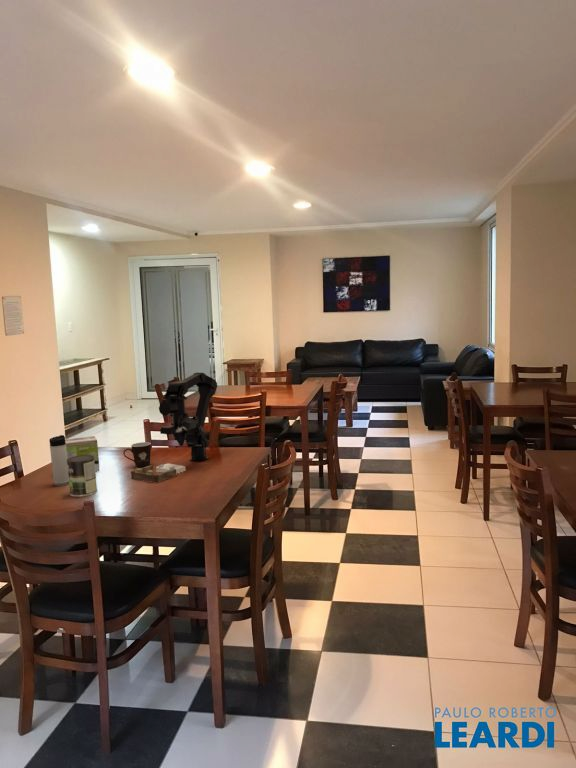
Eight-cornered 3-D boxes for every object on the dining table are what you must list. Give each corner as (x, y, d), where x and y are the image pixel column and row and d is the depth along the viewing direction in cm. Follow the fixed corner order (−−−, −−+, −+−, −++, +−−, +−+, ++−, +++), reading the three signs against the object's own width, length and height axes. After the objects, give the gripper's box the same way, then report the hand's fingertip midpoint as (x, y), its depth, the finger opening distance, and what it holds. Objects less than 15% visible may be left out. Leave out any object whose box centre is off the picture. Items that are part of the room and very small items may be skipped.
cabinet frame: (151, 471, 268) (150, 462, 268) (176, 476, 259) (175, 465, 259) (131, 478, 259) (130, 468, 259) (156, 483, 250) (155, 472, 250)
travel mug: (73, 481, 259) (68, 435, 257) (63, 486, 253) (58, 438, 251) (61, 481, 261) (56, 434, 259) (50, 485, 255) (45, 438, 253)
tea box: (64, 477, 268) (61, 443, 266) (62, 471, 277) (59, 439, 275) (100, 471, 274) (97, 439, 272) (97, 466, 283) (94, 435, 281)
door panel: (168, 469, 273) (167, 461, 273) (185, 472, 267) (185, 464, 266) (156, 473, 268) (155, 464, 267) (173, 476, 261) (172, 468, 261)
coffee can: (72, 498, 236) (69, 462, 234) (68, 492, 244) (64, 457, 243) (100, 493, 240) (96, 458, 239) (94, 487, 249) (91, 453, 248)
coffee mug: (155, 463, 283) (153, 441, 282) (149, 468, 275) (147, 446, 273) (130, 463, 284) (128, 442, 283) (123, 469, 276) (121, 447, 274)
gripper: (176, 416, 258) (179, 452, 260) (206, 408, 273) (209, 442, 275) (157, 414, 264) (161, 450, 266) (188, 407, 279) (191, 440, 281)
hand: (181, 445), depth 272 cm, fingers closed
